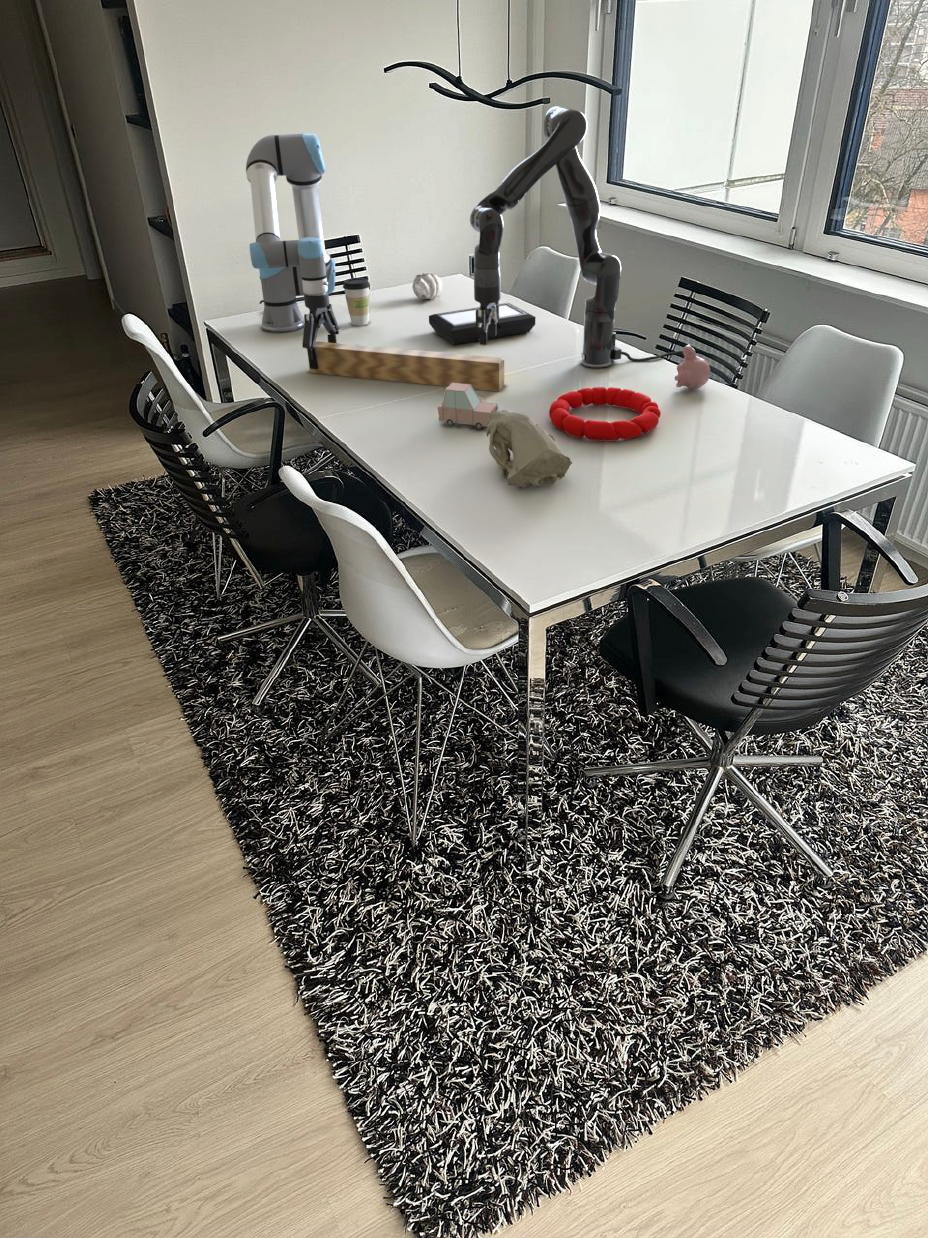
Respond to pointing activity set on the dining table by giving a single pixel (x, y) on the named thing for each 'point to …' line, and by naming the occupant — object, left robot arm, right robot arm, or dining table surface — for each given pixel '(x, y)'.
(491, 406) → the toy car
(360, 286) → the coffee cup
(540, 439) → the grey brown rock
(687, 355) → the figurine
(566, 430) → the decorative ring
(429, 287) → the seashell
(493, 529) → the dining table surface
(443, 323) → the electronic device
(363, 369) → the beam
